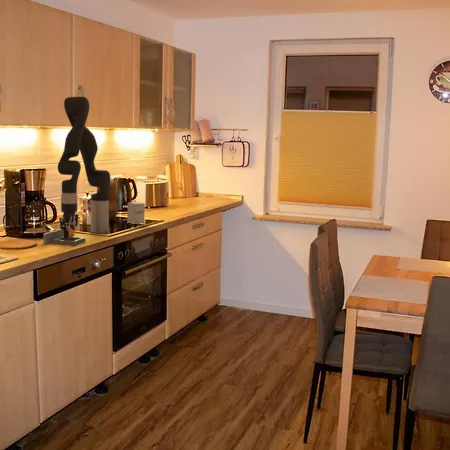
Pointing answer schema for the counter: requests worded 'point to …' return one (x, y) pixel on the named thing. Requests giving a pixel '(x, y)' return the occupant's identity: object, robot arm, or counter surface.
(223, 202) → the counter surface
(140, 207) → the supplement box
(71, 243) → the tray
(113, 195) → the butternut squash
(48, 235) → the wall
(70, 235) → the ball
